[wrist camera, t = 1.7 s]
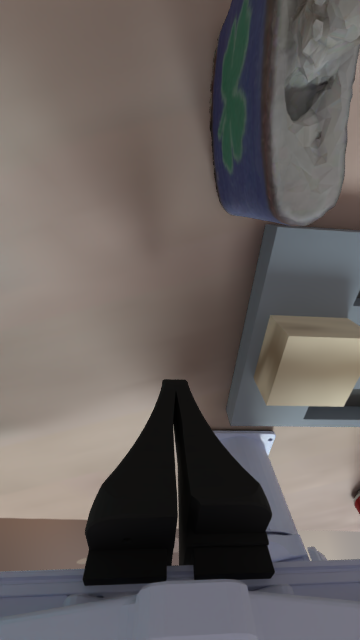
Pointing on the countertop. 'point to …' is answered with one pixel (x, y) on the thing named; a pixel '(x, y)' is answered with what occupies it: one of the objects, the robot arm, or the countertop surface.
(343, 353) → the birch block
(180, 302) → the countertop surface
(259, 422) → the trap deck
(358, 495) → the soda can
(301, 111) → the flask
